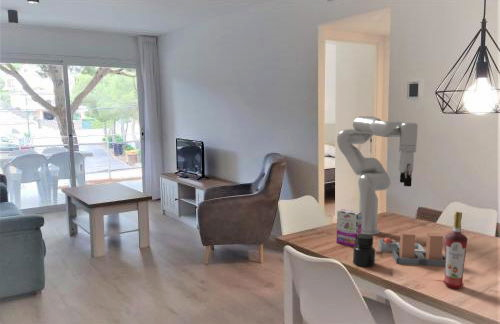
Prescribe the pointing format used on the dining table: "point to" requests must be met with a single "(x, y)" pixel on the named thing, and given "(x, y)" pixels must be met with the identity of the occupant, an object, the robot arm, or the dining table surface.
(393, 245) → the grey square holder
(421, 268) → the dining table surface
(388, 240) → the red egg shape
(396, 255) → the grey two-slot rack
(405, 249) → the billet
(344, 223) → the candy bar box
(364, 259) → the ink bottle
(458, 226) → the liquor
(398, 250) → the light grey square frame
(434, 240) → the block
